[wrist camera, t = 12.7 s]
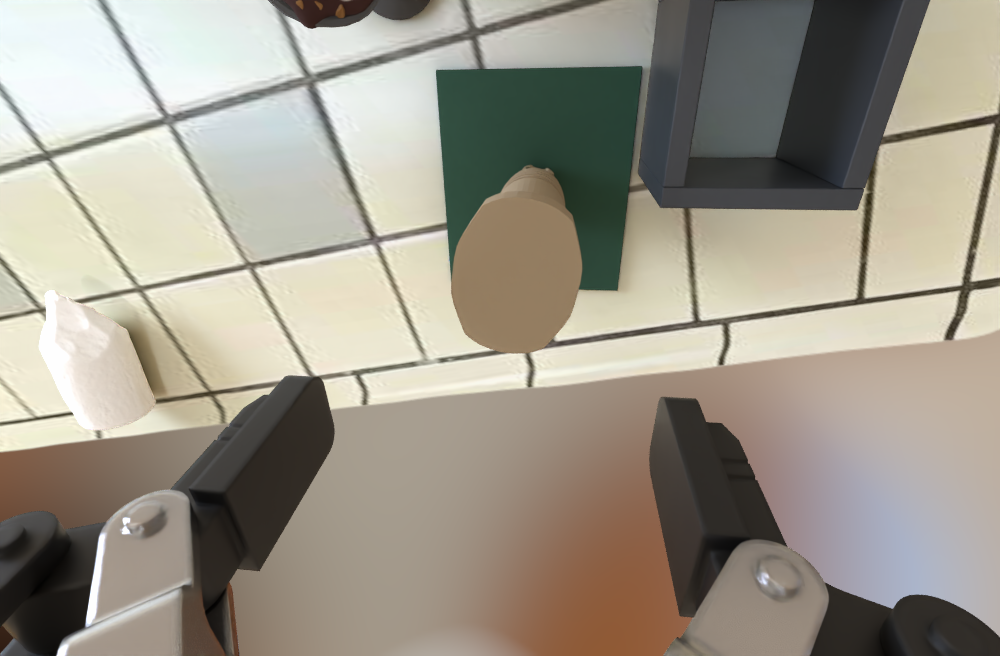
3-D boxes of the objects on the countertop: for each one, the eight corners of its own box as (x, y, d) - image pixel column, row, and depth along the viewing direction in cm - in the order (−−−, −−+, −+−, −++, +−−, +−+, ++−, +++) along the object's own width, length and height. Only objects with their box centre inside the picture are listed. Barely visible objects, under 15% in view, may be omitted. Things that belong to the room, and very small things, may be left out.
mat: (436, 70, 29) (435, 70, 29) (641, 66, 27) (642, 66, 27) (452, 283, 36) (451, 285, 35) (617, 289, 34) (617, 290, 34)
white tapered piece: (129, 277, 39) (67, 308, 34) (170, 395, 45) (122, 436, 40) (59, 269, 39) (-12, 299, 34) (109, 387, 45) (55, 427, 40)
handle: (583, 144, 30) (599, 211, 17) (560, 242, 33) (559, 363, 20) (506, 130, 30) (462, 186, 17) (491, 229, 33) (444, 340, 20)
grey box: (660, -20, 25) (697, -49, 19) (842, -27, 24) (952, -60, 18) (637, 174, 30) (659, 208, 23) (788, 174, 29) (857, 210, 22)
